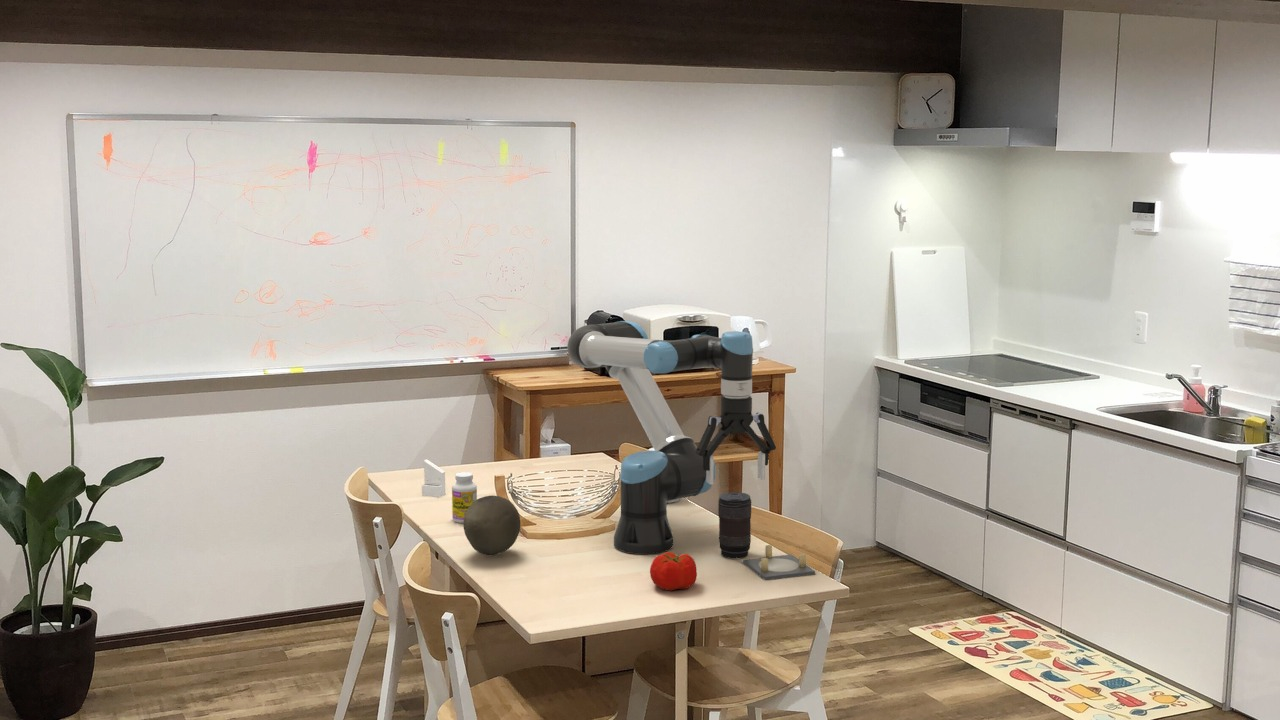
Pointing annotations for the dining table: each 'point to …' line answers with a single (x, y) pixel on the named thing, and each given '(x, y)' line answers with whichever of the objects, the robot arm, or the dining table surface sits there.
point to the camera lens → (734, 524)
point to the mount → (779, 565)
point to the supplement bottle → (462, 495)
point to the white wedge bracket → (433, 480)
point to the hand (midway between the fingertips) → (735, 480)
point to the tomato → (673, 571)
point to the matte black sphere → (491, 525)
